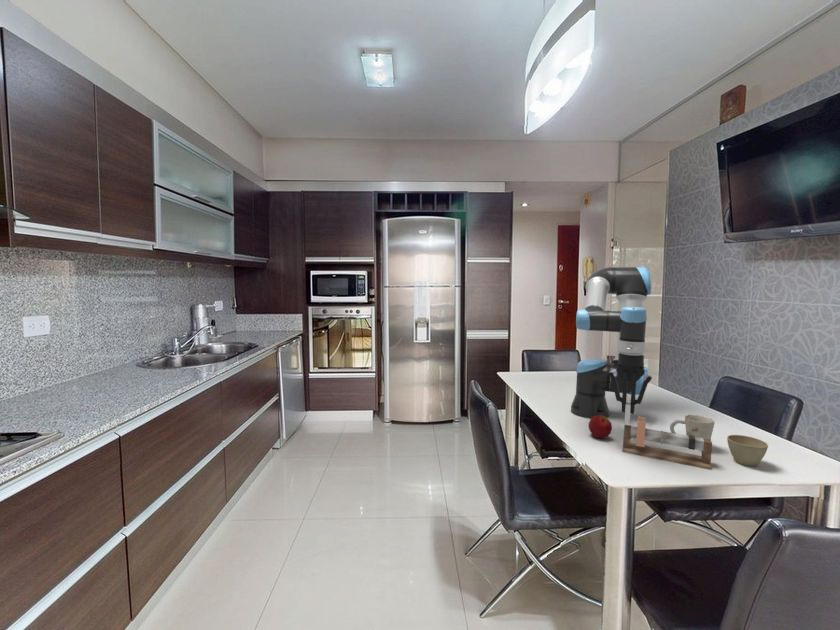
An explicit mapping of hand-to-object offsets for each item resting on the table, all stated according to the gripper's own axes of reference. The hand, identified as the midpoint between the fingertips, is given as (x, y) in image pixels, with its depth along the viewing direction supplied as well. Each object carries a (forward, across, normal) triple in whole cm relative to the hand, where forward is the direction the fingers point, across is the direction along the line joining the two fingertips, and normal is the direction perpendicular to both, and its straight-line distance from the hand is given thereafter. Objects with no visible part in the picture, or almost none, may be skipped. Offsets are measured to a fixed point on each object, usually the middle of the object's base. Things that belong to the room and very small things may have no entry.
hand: (627, 422), depth 135 cm
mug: (+9, +19, +15) cm, 26 cm away
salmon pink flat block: (+6, +4, 0) cm, 8 cm away
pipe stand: (+9, +11, 0) cm, 14 cm away
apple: (+9, -9, +6) cm, 14 cm away
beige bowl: (+9, +33, +8) cm, 35 cm away
